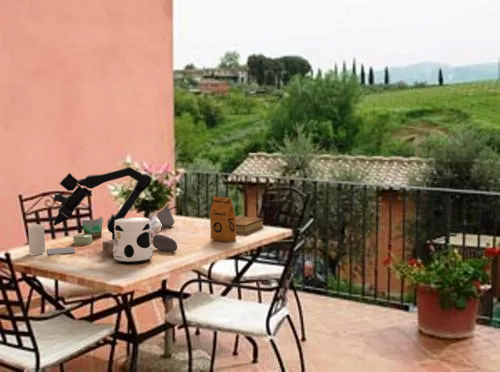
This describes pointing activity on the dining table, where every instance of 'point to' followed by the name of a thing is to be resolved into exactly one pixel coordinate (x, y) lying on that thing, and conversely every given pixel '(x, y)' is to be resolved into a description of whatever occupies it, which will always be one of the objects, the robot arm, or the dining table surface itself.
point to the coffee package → (222, 220)
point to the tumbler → (36, 239)
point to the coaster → (61, 251)
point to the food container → (93, 227)
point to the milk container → (132, 240)
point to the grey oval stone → (164, 243)
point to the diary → (247, 224)
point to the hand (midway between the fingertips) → (54, 223)
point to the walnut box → (108, 249)
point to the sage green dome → (82, 239)
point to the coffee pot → (167, 216)
